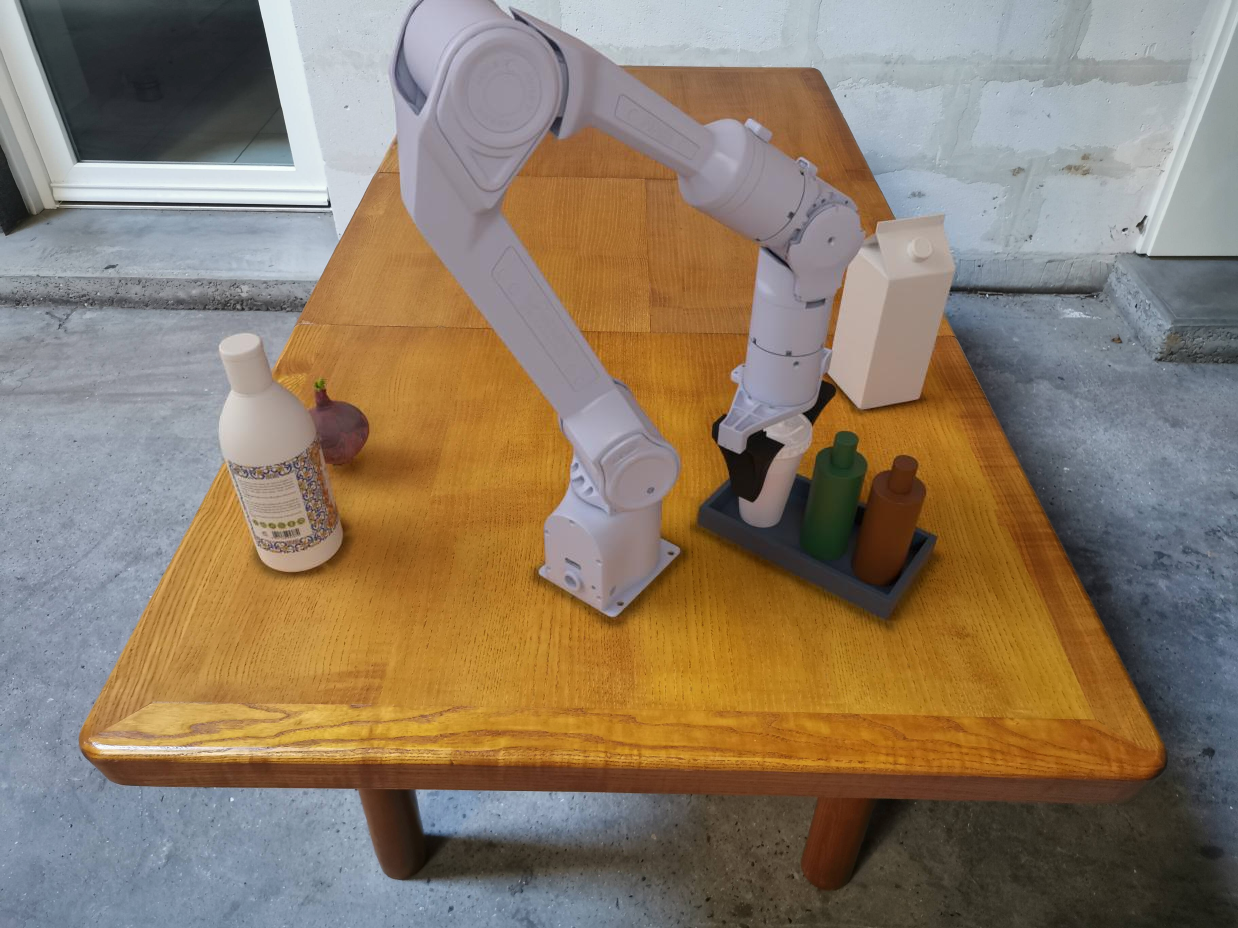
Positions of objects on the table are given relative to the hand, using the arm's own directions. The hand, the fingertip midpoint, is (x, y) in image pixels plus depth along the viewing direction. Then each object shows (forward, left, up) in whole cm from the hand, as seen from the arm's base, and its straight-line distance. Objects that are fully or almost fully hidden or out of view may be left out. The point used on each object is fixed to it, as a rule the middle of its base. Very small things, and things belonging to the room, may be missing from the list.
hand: (765, 474), depth 75 cm
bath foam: (-27, +29, -5) cm, 40 cm away
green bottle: (0, -6, -4) cm, 8 cm away
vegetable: (-18, +35, -5) cm, 40 cm away
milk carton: (+25, +1, -5) cm, 26 cm away
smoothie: (0, 0, -5) cm, 5 cm away
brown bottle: (0, -11, -4) cm, 12 cm away
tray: (0, -5, -5) cm, 7 cm away
